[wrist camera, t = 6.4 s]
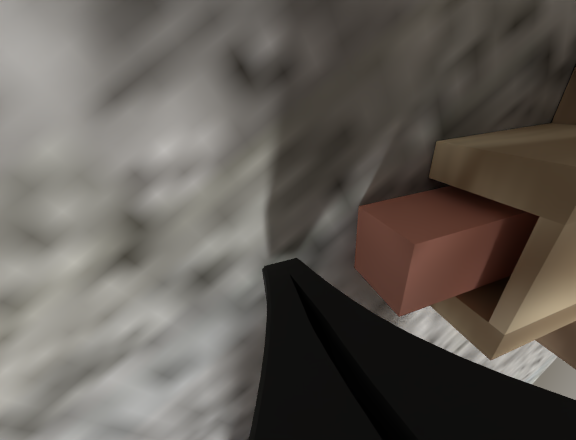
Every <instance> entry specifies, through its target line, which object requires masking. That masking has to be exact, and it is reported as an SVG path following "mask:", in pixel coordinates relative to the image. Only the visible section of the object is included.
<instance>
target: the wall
mask: <svg viewBox="0 0 576 440" xmlns="http://www.w3.org/2000/svg"><path fill="white" fill-rule="evenodd" d="M552 123H556V124H570V125H576V66H575V68H574V71H573V73H572V75H571V78H570V80H569V83H568V85H567V87H566V90H565V92H564V94H563V97H562V99H561V102H560V104H559V106H558V109H557V111H556V113H555V116H554V118H553V121H552ZM536 341H537V342H539V343H540V344H541V345H543V346H544V347H545V348H547V349H548V350H550V351H551V352H552V353H554V354H555V355H556V356H558V357H559V358H561V359H562V360H563V361H565V362H566V363H568V364H569V365H570V366H572V367H573V368H575V369H576V321H574V322H572V323H570V324H568V325H566V326H563V327H561V328H559V329H557V330H555V331H553V332H551V333H548V334H546V335H544V336H542V337H540V338H538V339H536Z"/></svg>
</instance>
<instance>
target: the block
mask: <svg viewBox="0 0 576 440" xmlns="http://www.w3.org/2000/svg"><path fill="white" fill-rule="evenodd" d="M429 178H431V179H434V180H437V181H440V182H443V183H445V184H448V185H451V186H454V187H457V188H460V189H463V190H465V191H468V192H471V193H474V194H477V195H480V196H483V197H486V198H488V199H491V200H494V201H497V202H500V203H503V204H506V205H508V206H511V207H514V208H517V209H520V210H523V211H526V212H529V213H531V214H534V215H537V216H540V217H539V219H538V221H537V223H536V225H535V227H534V229H533V231H532V233H531V235H530V237H529V239H528V242H527V244H526V246H525V248H524V250H523V252H522V254H521V256H520V258H519V260H518V262H517V264H516V266H515V269H514V271H513V273H512V275H511V276H508V277H505V278H503V279H500V280H497V281H495V282H492V283H489V284H487V285H484V286H481V287H478V288H476V289H473V290H470V291H468V292H465V293H462V294H459V295H457V296H454V297H451V298H449V299H446V300H443V301H441V302H438V303H435V304H432V305H430V306H431V307H432V308H433V309H434V310H435V311H437V312H438V313H439V314H440V315H441V316H442V317H443V318H444V319H445V320H447V321H448V322H449V323H450V324H451V325H452V326H453V327H454V328H455V329H456V330H458V331H459V332H460V333H461V334H462V335H463V336H464V337H465V338H466V339H467V340H469V341H470V342H471V343H472V344H473V345H474V346H475V347H476V348H477V349H479V350H480V351H481V352H482V353H483V354H484V355H485V356H486V357H487V358H488V359H490V360H493V359H495V358H497V357H499V356H501V355H503V354H506V353H508V352H510V351H512V350H514V349H516V348H518V347H521V346H523V345H525V344H527V343H529V342H531V341H533V340H536V339H538V338H540V337H542V336H544V335H546V334H548V333H551V332H553V331H555V330H557V329H559V328H561V327H563V326H566V325H568V324H570V323H572V322H574V321H576V125H570V124H556V123H547V124H541V125H535V126H529V127H522V128H516V129H510V130H504V131H497V132H491V133H485V134H478V135H472V136H466V137H460V138H453V139H447V140H441V141H436V145H435V150H434V155H433V159H432V164H431V169H430V173H429Z"/></svg>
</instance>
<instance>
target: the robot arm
mask: <svg viewBox="0 0 576 440" xmlns="http://www.w3.org/2000/svg"><path fill="white" fill-rule="evenodd" d="M262 272H263V278H264V285H265V292H266V299H267V322H266V337H265V347H264V356H263V363H262V371H261V377H260V383H259V389H258V395H257V401H256V406H255V412H254V417H253V422H252V427H251V432H250V436H249V440H576V400H573V399H571V398H568V397H565V396H562V395H560V394H557V393H554V392H551V391H548V390H545V389H543V388H540V387H537V386H534V385H532V384H529V383H526V382H523V381H520V380H518V379H515V378H512V377H509V376H507V375H504V374H501V373H499V372H496V371H494V370H491V369H489V368H487V367H484V366H482V365H479V364H477V363H474V362H472V361H469V360H467V359H464V358H462V357H460V356H458V355H455V354H453V353H451V352H448V351H446V350H444V349H442V348H440V347H438V346H436V345H433V344H431V343H429V342H427V341H425V340H423V339H421V338H419V337H416V336H414V335H412V334H410V333H408V332H406V331H405V330H403V329H401V328H399V327H397V326H395V325H393V324H392V323H390V322H388V321H386V320H384V319H383V318H381V317H379V316H377V315H376V314H374V313H372V312H371V311H369V310H367V309H366V308H364V307H363V306H361V305H360V304H358V303H357V302H355V301H353V300H352V299H351V298H349V297H348V296H346V295H345V294H343V293H342V292H340V291H339V290H338V289H336V288H335V287H334V286H332V285H331V284H329V283H328V282H327V281H325V280H324V279H323V278H321V277H320V276H319V275H318V274H316V273H315V272H314V271H313V270H311V269H310V268H309V267H308V266H306V265H305V264H304V263H303V262H302V261H300V260H299V259H297V258H295V259H291V260H287V261H283V262H279V263H275V264H271V265H267V266H264V268H263V269H262Z"/></svg>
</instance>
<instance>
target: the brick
mask: <svg viewBox="0 0 576 440" xmlns="http://www.w3.org/2000/svg"><path fill="white" fill-rule="evenodd" d="M539 217H540V216H537V215H534V214H531V213H529V212H526V211H523V210H520V209H517V208H514V207H511V206H508V205H506V204H503V203H500V202H497V201H494V200H491V199H488V198H486V197H483V196H480V195H477V194H474V193H471V192H468V191H465V190H463V189H460V188H457V187H454V186H447V187H442V188H438V189H433V190H429V191H424V192H420V193H415V194H411V195H406V196H402V197H398V198H393V199H389V200H384V201H380V202H375V203H371V204H366V205H362V206H359V210H358V224H357V238H356V252H355V266H354V268H355V269H356V270H357V271H358V272H359V273H360V274H361V275H362V276H363V278H364V279H365V280H366V281H367V282H368V283H369V284H370V285H371V286H372V287H373V289H374V290H375V291H376V292H377V293H378V294H379V295H380V296H381V297H382V299H383V300H384V301H385V302H386V303H387V304H388V305H389V306H390V307H391V308H392V310H393V311H394V312H395V313H396V314H397V315H398V316H399V317H400V316H403V315H405V314H408V313H411V312H413V311H416V310H419V309H422V308H424V307H427V306H430V305H432V304H435V303H438V302H441V301H443V300H446V299H449V298H451V297H454V296H457V295H459V294H462V293H465V292H468V291H470V290H473V289H476V288H478V287H481V286H484V285H487V284H489V283H492V282H495V281H497V280H500V279H503V278H505V277H508V276H511V275H512V273H513V271H514V269H515V266H516V264H517V262H518V260H519V258H520V256H521V254H522V252H523V250H524V248H525V246H526V244H527V242H528V239H529V237H530V235H531V233H532V231H533V229H534V227H535V225H536V223H537V221H538V219H539Z"/></svg>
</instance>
